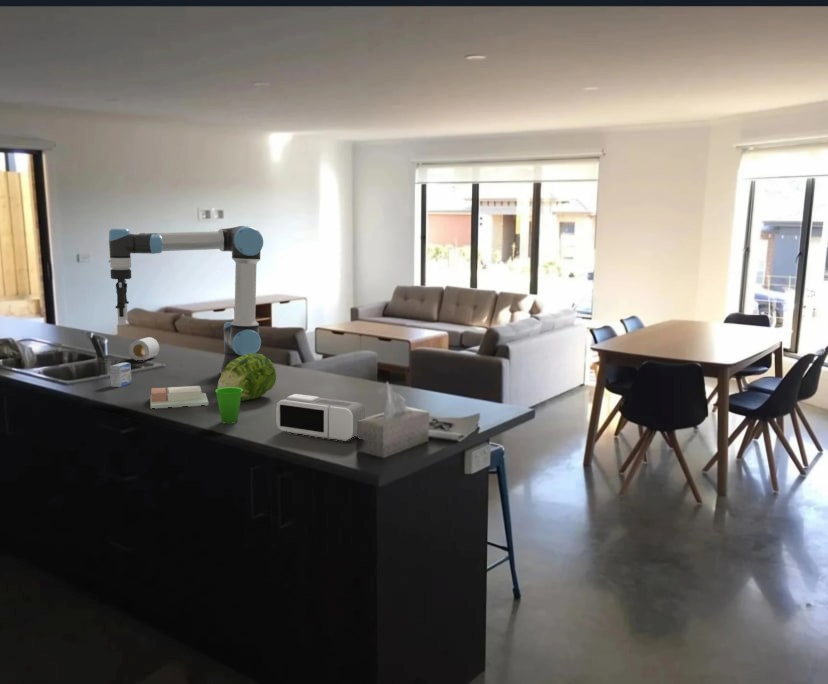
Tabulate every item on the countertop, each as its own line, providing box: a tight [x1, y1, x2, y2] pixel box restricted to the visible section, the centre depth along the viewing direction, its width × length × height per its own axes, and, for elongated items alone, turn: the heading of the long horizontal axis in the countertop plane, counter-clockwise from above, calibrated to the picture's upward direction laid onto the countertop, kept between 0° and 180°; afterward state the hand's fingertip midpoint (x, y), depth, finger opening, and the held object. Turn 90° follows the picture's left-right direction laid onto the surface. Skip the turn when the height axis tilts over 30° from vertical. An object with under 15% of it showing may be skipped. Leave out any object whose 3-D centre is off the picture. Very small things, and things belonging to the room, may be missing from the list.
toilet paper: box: [128, 336, 160, 362], centre depth 352 cm, size 10×10×10 cm
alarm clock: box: [275, 393, 366, 441], centre depth 234 cm, size 27×9×12 cm, turn 67°
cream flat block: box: [166, 385, 203, 401], centre depth 275 cm, size 12×9×3 cm
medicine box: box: [109, 362, 132, 388], centre depth 297 cm, size 8×4×9 cm, turn 168°
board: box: [149, 392, 209, 409], centre depth 272 cm, size 20×15×1 cm
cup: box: [214, 387, 243, 424], centre depth 247 cm, size 9×9×11 cm
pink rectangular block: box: [151, 387, 167, 402], centre depth 272 cm, size 5×9×3 cm, turn 20°
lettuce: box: [217, 353, 277, 402], centre depth 277 cm, size 17×23×17 cm
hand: (123, 322), depth 289 cm, fingers open, 13 cm apart
